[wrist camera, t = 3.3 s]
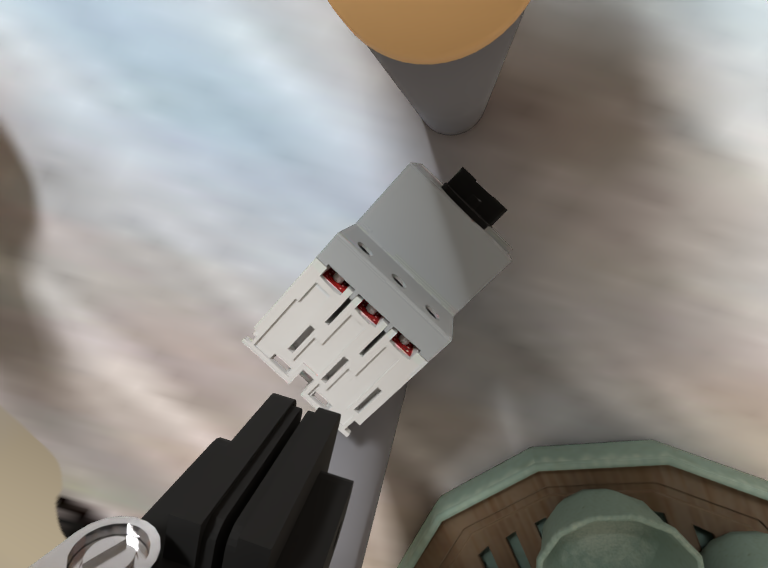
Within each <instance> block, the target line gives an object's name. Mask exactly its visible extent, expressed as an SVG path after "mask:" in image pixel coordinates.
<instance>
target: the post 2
mask: <svg viewBox="0 0 768 568" xmlns="http://www.w3.org/2000/svg"><path fill="white" fill-rule="evenodd" d="M328 2H329V3H330V5H331V6H332V8H333V9H334V10H335V12H336V13H337V14H338V15H339V17H340V18H341V19H342V20H343V22H344V23H345V24H346V25H347V27H348V28H349V29H350V30H351V31H352V32H353V33H354V35H355V36H357V37H358V38H359V39H360V40H361V41H362V42H363V43H365V44H366V45H367V46H368V48H369V49H370V50H371V52H372V53H373V54H374V55H375V57H376V58H377V59H378V61H379V62H380V63H381V65H382V66H383V67H384V69H385V70H386V71H387V73H388V74H389V75H390V77H391V78H392V79H393V81H394V82H395V83H396V85H397V86H398V87H399V89H400V90H401V91H402V93H403V94H404V95H405V97H406V98H407V99H408V101H409V102H410V103H411V105H412V106H413V107H414V108H415V110H416V111H417V112H418V114H419V115H420V116H421V118H422V119H423V120H424V122H425V123H426V124H427V125H428V126H429V127H430V128H431V129H433V130H434V131H436V132H438V133H441V134H445V135H456V134H461V133H463V132H465V131H467V130H469V129H470V128H472V127H473V126H474V125H475V124H476V123H477V122H478V121H479V120H480V118H481V116H482V115H483V113H484V110H485V108H486V105H487V103H488V100H489V98H490V95H491V93H492V90H493V88H494V85H495V83H496V80H497V78H498V75H499V73H500V70H501V68H502V65H503V63H504V60H505V58H506V55H507V53H508V50H509V48H510V45H511V43H512V40H513V38H514V35H515V33H516V30H517V28H518V25H519V23H520V20H521V18H522V15H523V13H524V10H525V8H526V7H527V5H528V3H529V2H530V0H328Z"/></svg>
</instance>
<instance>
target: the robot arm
mask: <svg viewBox="0 0 768 568" xmlns="http://www.w3.org/2000/svg"><path fill="white" fill-rule="evenodd" d="M301 416H302V408H299V407H296V400H295V399H291V398H288V397H285V396H282V395H279V394H275V393H273V394H272V395H271V396H270V397H269V398H268V399H267V400H266V402H265V403H264V404H263V405H262V406H261V407H260V408H259V410H258V411H257V412H256V413H255V414H254V415H253V417H252V418H251V419H250V420H249V421H248V422H247V423H246V425H245V426H244V427H243V428H242V429H241V430H240V432H239V433H238V434H237V435H236V436H235V437H234V439H233V440H232V441H230V440H227V439H224V438H221V437H220V438H217V439H216V440H215V441H213V442H212V443H211V444H210V445H209V446H208V448H207V449H206V450H205V451H204V452H203V453H202V454H201V455H200V456H199V457H198V458H197V459H196V460H195V462H194V463H193V464H192V465H191V466H190V467H189V468H188V469H187V470H186V471H185V472H184V473H183V474H182V475H181V477H180V478H179V479H178V480H177V481H176V482H175V483H174V484H173V485H172V486H171V487H170V488H169V489H168V491H167V492H166V493H165V494H164V495H163V496H162V497H161V498H160V499H159V500H158V501H157V502H156V503H155V504H154V506H153V507H152V508H151V509H150V510H149V511H148V512H147V513H146V514H145V515H144V516H143V517H142V518H141V519H139V518H136V517H127V516H118V517H111V518H105V519H102V520H99V521H97V522H94V523H91V524H89V525H87V526H86V527H84V528H82V529H81V530H79V531H77V532H76V533H74V534H73V535H71V536H70V537H69V538H67V539H66V540H65V541H63V542H62V543H61V544H59V545H58V546H57V547H55V548H54V549H53V550H51V551H50V552H49V553H47V554H46V555H45V556H43V557H42V558H41V559H39V560H38V561H37V562H35V563H34V564H33V565H31V566H30V567H29V568H329V566H330V563H331V560H332V557H333V554H334V551H335V548H336V545H337V542H338V538H339V535H340V532H341V529H342V525H343V522H344V518H345V515H346V511H347V507H348V504H349V500H350V496H351V492H352V488H353V484H354V481H352V480H349V479H346V478H343V477H340V476H337V475H334V474H331V473H328V469H329V465H330V461H331V457H332V453H333V449H334V444H335V440H336V436H337V432H338V428H339V424H340V419H341V414H339V413H336V412H333V411H330V410H327V409H323V408H320V407H319V408H318V409H317V410H316V412H312V411H307V413H306V414H305V416H304V417H303V419H302V420H301ZM300 421H301V422H300Z"/></svg>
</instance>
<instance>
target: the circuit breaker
mask: <svg viewBox="0 0 768 568" xmlns="http://www.w3.org/2000/svg"><path fill="white" fill-rule="evenodd" d="M506 211H507V209H506V208H505V207H504V206H503V205H502V204H500V203H499V202H498V201H497V200H496V199H495V198H494V197H492V196H491V195H490V194H489V193H488V192H487V191H486V190H484V189H483V188H482V187H481V186H480V185H479V184H478V183H477V182H476V179H475V178H474V177H473V176H472V175H471V174H470V173H469V172H468V171H467V170H466V169H464V168H463V167H462V169H461V170H460V171H459V172H458V173H457V174H456V175H455V176H454V177H453V178H452V179H451V180H450V181H449V182H448V183H445V184H444V185H443V184H442V183H441V182H440V181H439V180H438V179H437V178H436V177H435V176H434V175H433V174H432V173H431V172H430V171H429V170H427V169H426V168H425V167H424V166H423V165H422V164H418V163H410V164H409V165H408V166H407V167H406V168H405V169H404V170H403V171H402V172H401V174H400V175H399V176H398V177H397V178H396V179H395V180H394V181H393V182H392V184H391V185H390V186H389V187H388V188H387V189H386V190H385V191H384V193H383V194H382V195H381V196H380V197H379V198H378V199H377V200H376V201H375V203H374V204H373V205H372V206H371V207H370V208H369V209H368V210H367V212H366V213H365V214H364V215H363V216H362V217H361V218H360V219H359V220H358V222H357V223H356V224H354V225H352V226H350V227H348V228H346V229H344V230H342V231H340V232H339V233H337V234H336V236H335V237H334V238H333V239H332V240H331V241H330V242H329V243H328V245H327V246H326V247H325V248H324V249H323V250H322V251H321V252H320V254H319V255H318V256H317V257H316V258H315V259H314V260H313V262H312V263H311V264H310V265H309V266H308V267H307V268H306V269H305V271H304V272H303V273H302V274H301V275H300V276H299V277H298V278H297V280H296V281H295V282H294V283H293V284H292V285H291V286H290V287H289V289H288V290H287V291H286V292H285V293H284V294H283V295H282V297H281V298H280V299H279V300H278V301H277V302H276V303H275V304H274V306H273V307H272V308H271V309H270V310H269V311H268V312H267V313H266V315H265V316H264V317H263V318H262V319H261V320H260V321H259V322H258V324H257V325H256V326H255V327H254V329H255V331H254V333H253V335H255V336H256V337H255V338H254V339H253V340H251V339H250V338H249V337H248V336H247V337H246V338H244V339H243V341H242V342H243V343H244V344H245V345H246V346H247V347H248V348H249V349H250V350H252V351H253V352H254V353H255V354H256V355H257V356H258V357H259V358H260V359H261V360H263V361H264V362H265V363H266V364H267V365H268V366H269V367H270V368H271V369H272V370H273V371H275V372H276V373H277V374H278V375H279V376H280V377H281V378H282V379H283V380H284V381H286V382H287V383H288V384H290V383H291V382H292V381H293V380H294V378H295V377H296V376H297V375H298V374H299V375H301V376H302V377H303V378H304V379H305V380H306V381H307V382H308V384H307V386H306V387H305V389H304V390H303V392H302V393H301V396H302V397H303V398H304V399H305V400H306V401H307V402H308V403H310V404H311V405H312V406H313V407H314V408H315V409H316V410H317V409H318V408H319V407H320V408H323V409H327V410H330V411H333V412H336V413H339V414H341V419H340V424H339V428H338V430H339V431H340V432H341V433H342V434H344V435H345V436H346V437H347V436H349V435H350V432H351V430H350V429H348V428H347V427H348V426H349V425H350V424H351V423H352V422H353V421H356V422H357V423H358V424H359V425H361V424H362V423H363V422H364V421H365V420H366V419H367V418H368V417H369V416H370V415H371V414H373V413H374V412H375V411H376V410H377V409H378V408H379V407H380V406H381V405H382V404H383V403H385V402H386V401H387V400H388V399H389V398H390V397H391V396H392V395H393V394H394V393H395V392H397V391H398V390H399V389H400V388H401V387H402V386H403V385H404V384H405V383H406V382H407V381H409V380H410V379H411V378H412V377H413V376H414V375H415V374H416V373H417V372H418V371H419V370H421V369H422V368H423V367H424V366H425V365H426V364H427V363H428V362H429V361H430V360H431V359H433V358H434V357H435V356H436V355H437V354H438V353H439V352H440V351H441V350H442V349H443V348H445V347H446V346H447V345H448V344H449V343H450V342H451V341H452V337H453V317H454V315H455V314H456V313H457V312H459V311H460V310H461V309H462V308H463V307H464V306H465V305H466V304H467V303H468V302H469V301H470V300H471V299H472V298H473V297H474V296H476V295H477V294H478V293H479V292H480V291H481V290H482V289H483V288H484V287H485V286H486V285H487V284H488V283H489V282H490V281H491V280H492V279H494V278H495V277H496V276H497V275H498V274H499V273H500V272H501V271H502V270H503V269H504V268H505V267H506V266H507V265H508V264H509V263H511V262H512V259H511V257H510V255H509V254H508V253H509V252H511V251H512V250H513V249H512V248H511V247H510V246H509V245H508V244H507V243H506V242H505V241H504V240H503V239H502V238H501V237H500V236H499V235H498V234H497V233H496V232H495V231H494V230H493V229H492V225H493V224H494V223H495V222H496V221H497V220H498V219H499V218H500V217H501V216H502V215H503V214H504V213H505V212H506ZM276 355H277V356H278V357H279V358H280V359H281V360H283V361H284V362H285V363H286V364H287V365H288V366H289V367H290V368H289V369H288V370H286V369H285V368H284V367H282V366H281V365H280V364H279V363H278V362H277V361H276V360H275V359H274V357H275V356H276ZM315 392H317V393H319V394H320V395H321V396H322V397H323V398H324V399H325V400H326V401H327V402H328V403H327V405H326V406H325V405H324V404H323V403H322V402H321V401H320V400H319V399H317V398H316V397H315V396H314V394H315Z"/></svg>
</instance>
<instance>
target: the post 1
mask: <svg viewBox="0 0 768 568" xmlns="http://www.w3.org/2000/svg"><path fill="white" fill-rule="evenodd" d="M407 383H408V381H407V382H406V383H405V384H404V385H403V386H402V387H401V388H400V389H399V390H398V391H397V392H395V393H394V394H393V395H392V396H391V397H390V398H389V399H388V400H387V401H386V402H385V403H383V404H382V405H381V406H380V407H379V408H378V409H377V410H376V411H375V412H374V413H373V414H371V415H370V416H369V417H368V418H367V419H366V420H365V421H364V422H363V423H362V424H361V425H359V424H358V423H357V422H356V421H353V422H352V423H351V424H350V425H349V426H348V427H347V428H348V429H350V430H351V432H350V435H349V436H347V437H346V436H345V435H344V434H342V433H341V432H340V431H339V430H338V432H337V436H336V440H335V444H334V449H333V453H332V457H331V461H330V465H329V469H328V473H331V474H334V475H337V476H340V477H343V478H346V479H349V480H352V481H354V484H353V488H352V492H351V496H350V500H349V504H348V507H347V511H346V515H345V518H344V522H343V525H342V529H341V532H340V535H339V538H338V542H337V545H336V548H335V551H334V554H333V557H332V560H331V563H330V566H329V568H362V564H363V560H364V556H365V552H366V548H367V544H368V540H369V536H370V532H371V528H372V524H373V520H374V516H375V512H376V508H377V504H378V500H379V496H380V492H381V488H382V484H383V480H384V476H385V472H386V468H387V464H388V460H389V456H390V452H391V448H392V444H393V440H394V436H395V432H396V427H397V423H398V419H399V415H400V411H401V407H402V403H403V399H404V395H405V391H406V387H407Z"/></svg>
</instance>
